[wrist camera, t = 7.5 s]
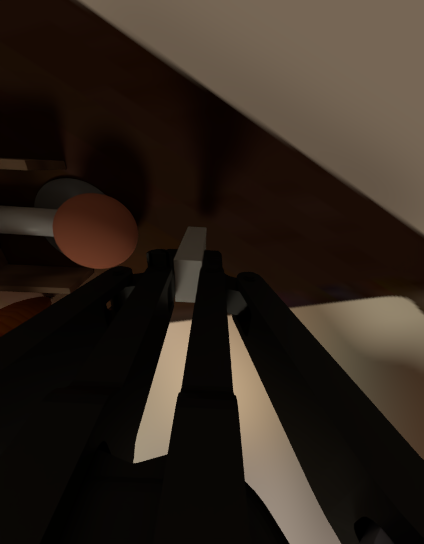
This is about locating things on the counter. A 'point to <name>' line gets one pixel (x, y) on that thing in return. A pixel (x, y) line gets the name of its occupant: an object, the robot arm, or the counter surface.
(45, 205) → the pin disc
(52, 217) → the pin
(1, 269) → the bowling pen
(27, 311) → the carrot
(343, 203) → the counter surface
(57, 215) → the ball
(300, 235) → the counter surface
